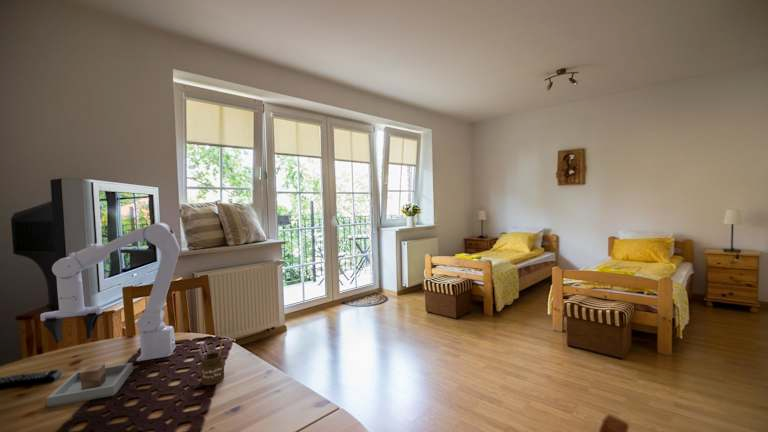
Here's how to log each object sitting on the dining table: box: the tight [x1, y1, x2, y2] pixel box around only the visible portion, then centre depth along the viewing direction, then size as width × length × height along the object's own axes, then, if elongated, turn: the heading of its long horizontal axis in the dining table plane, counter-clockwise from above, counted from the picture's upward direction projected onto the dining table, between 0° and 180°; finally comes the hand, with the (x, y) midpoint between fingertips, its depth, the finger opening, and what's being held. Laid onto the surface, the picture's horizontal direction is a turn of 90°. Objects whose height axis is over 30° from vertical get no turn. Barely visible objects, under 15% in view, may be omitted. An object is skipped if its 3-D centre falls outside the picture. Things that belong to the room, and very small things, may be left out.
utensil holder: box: [199, 336, 225, 386], centre depth 96 cm, size 6×6×12 cm
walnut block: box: [80, 363, 106, 390], centre depth 95 cm, size 4×4×5 cm
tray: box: [46, 362, 134, 408], centre depth 95 cm, size 14×14×2 cm
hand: (74, 339), depth 105 cm, fingers open, 7 cm apart
